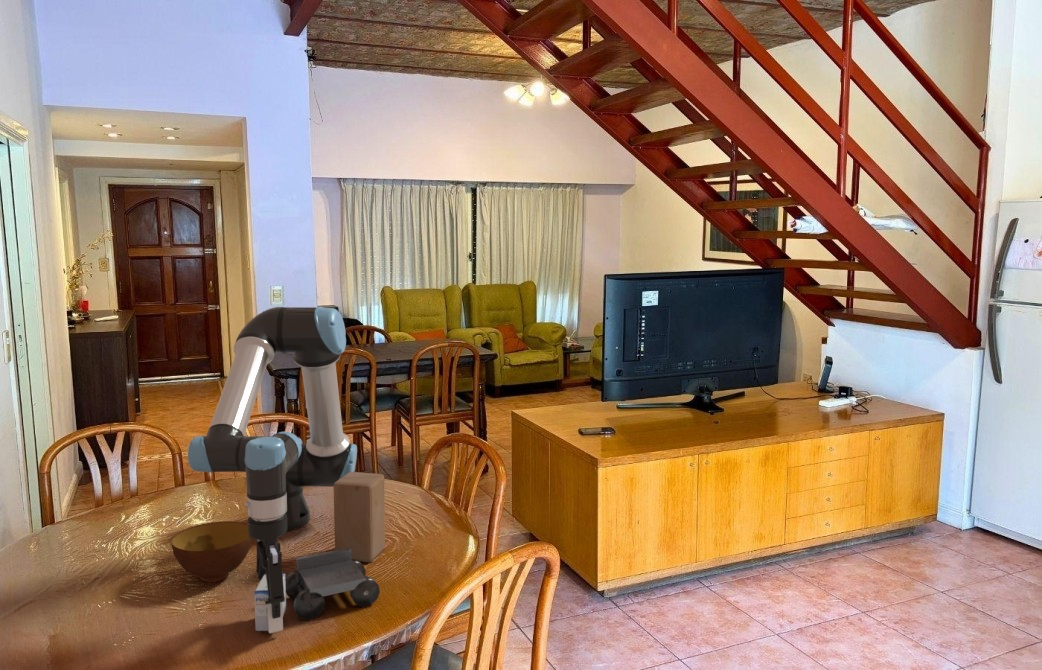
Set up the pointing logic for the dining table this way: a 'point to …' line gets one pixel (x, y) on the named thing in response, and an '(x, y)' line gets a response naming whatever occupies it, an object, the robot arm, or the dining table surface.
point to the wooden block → (360, 514)
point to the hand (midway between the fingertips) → (271, 620)
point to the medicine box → (260, 605)
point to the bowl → (212, 549)
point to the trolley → (328, 582)
